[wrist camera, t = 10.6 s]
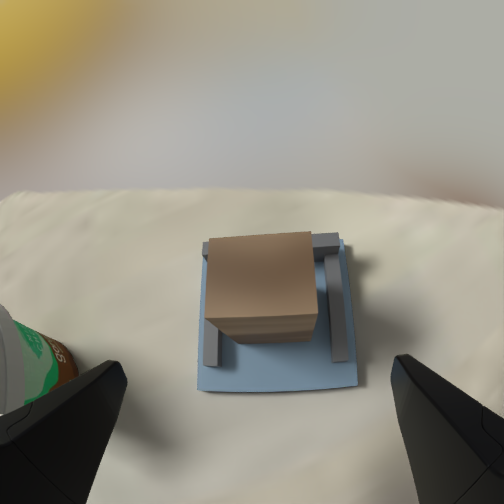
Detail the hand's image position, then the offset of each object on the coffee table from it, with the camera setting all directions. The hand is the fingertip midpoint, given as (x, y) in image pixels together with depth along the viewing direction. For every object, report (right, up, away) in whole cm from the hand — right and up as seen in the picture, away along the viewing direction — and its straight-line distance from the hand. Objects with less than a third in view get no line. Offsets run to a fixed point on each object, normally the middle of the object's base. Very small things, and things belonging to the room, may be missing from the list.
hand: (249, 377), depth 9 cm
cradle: (+2, -1, +13) cm, 13 cm away
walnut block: (+2, -1, +12) cm, 12 cm away
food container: (-18, -7, +14) cm, 24 cm away
